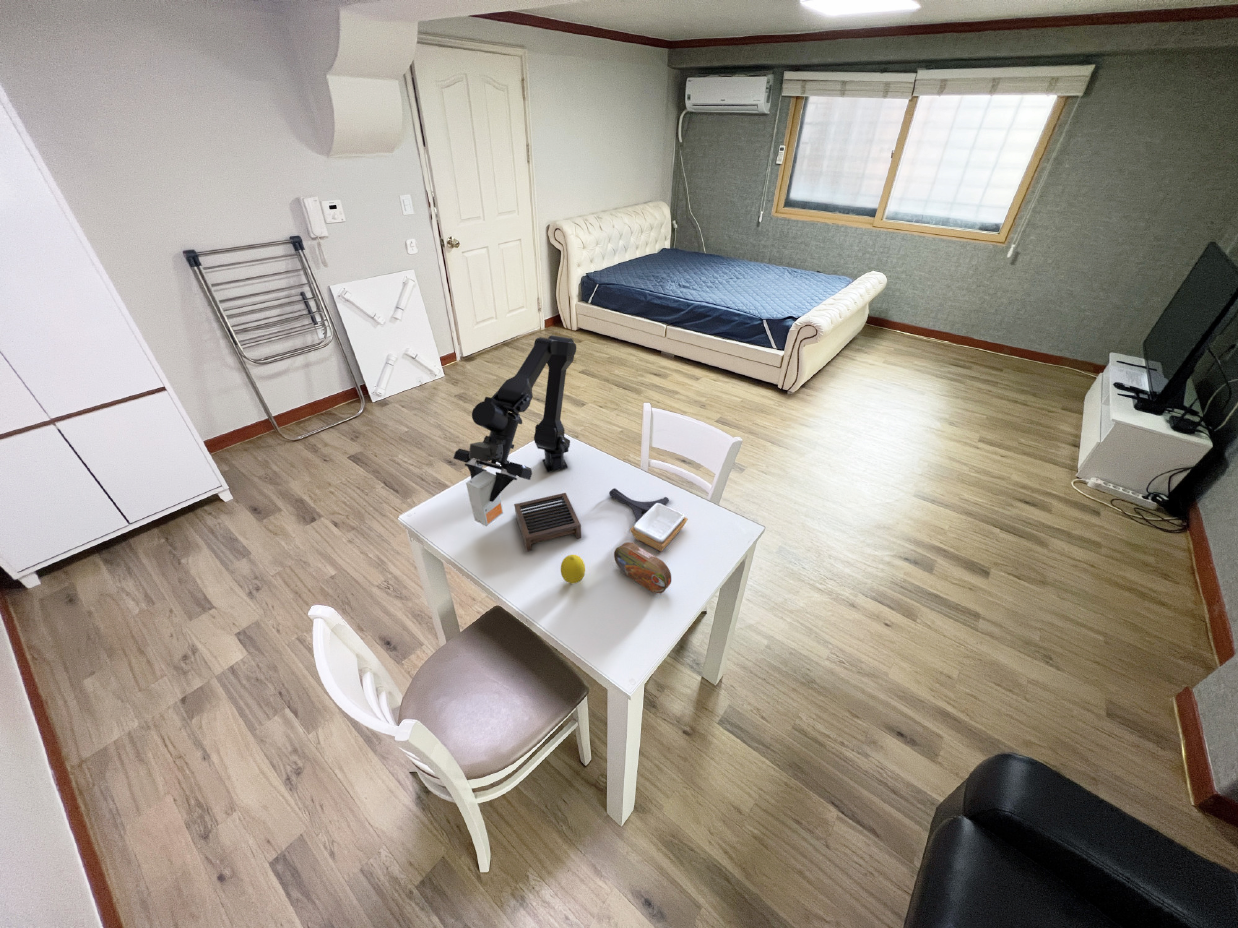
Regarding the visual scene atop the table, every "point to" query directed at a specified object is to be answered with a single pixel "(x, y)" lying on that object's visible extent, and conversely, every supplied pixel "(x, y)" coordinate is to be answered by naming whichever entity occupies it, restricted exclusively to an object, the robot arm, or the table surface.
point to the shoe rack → (546, 519)
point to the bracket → (636, 503)
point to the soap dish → (658, 526)
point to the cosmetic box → (484, 498)
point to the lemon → (572, 569)
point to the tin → (643, 567)
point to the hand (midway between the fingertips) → (482, 498)
